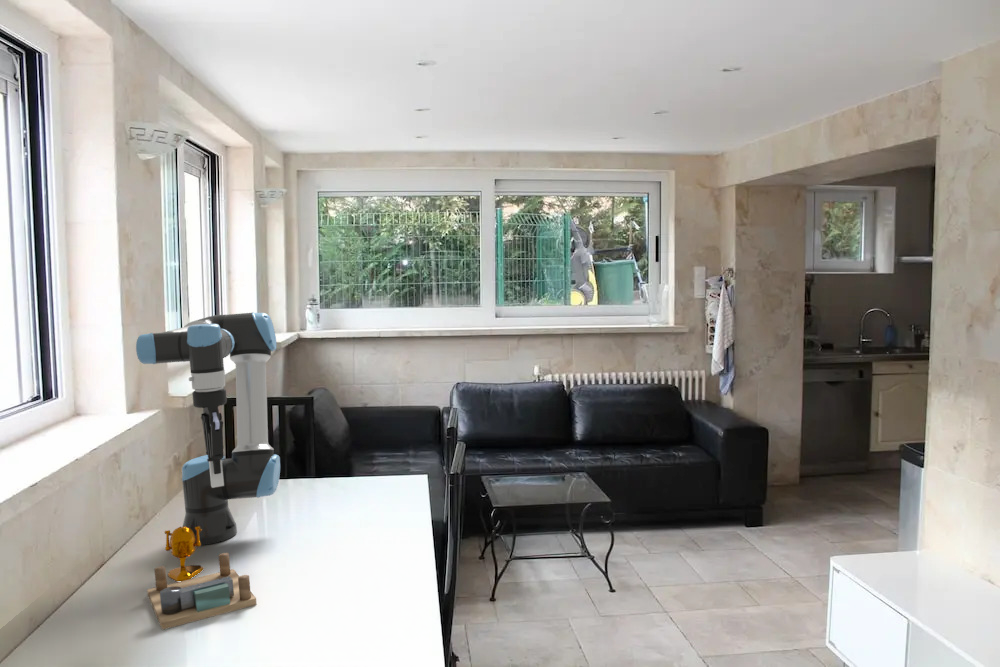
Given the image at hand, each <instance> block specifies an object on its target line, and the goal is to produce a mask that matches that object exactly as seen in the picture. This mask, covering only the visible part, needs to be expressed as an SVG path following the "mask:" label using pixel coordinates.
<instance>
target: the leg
mask: <svg viewBox="0 0 1000 667" xmlns="http://www.w3.org/2000/svg"><path fill="white" fill-rule="evenodd" d="M223 584H228V586H229V594H230V597H232V596H234V590H233V580H232V578H231V577H230V576H228V577H224V578H220V579H216V580H212V581H208V582H204V583H200V584H196V585H192V586H188V587H184V588H181V587H178V586H174V587H168V588H165V589H163V590H161V591H160V601H161V611H162V613H163V614H173V613H176V612H179V611H181V610H183V609H186V608H190V607H194V606H195V595H194V591H198V590H202V589H206V588H210V587H214V586H218V585H223Z"/></svg>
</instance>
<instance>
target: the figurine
mask: <svg viewBox="0 0 1000 667" xmlns="http://www.w3.org/2000/svg"><path fill="white" fill-rule="evenodd" d="M182 526H183V525H182ZM182 526H179V527H177V528H175V529H174V530H173V531H172V532H171V530H164V534H165V535H166V536H165V540H166V541H165V548H164V549H165V551H166V552H169V551H170V555H172V557H174V558H176V559H179V563H180V564H179V566H178V567H175V568H172V569H170V570H169V571H168V573H167V576H168V578H169V579H171V580H172V579H173V581H174V580H175V581H174V582H176V581H185V580H189V579H191V578H192V577H194V576H195V575H197V574H198V573H200V572H201V571H202V570H203V569H205V568H204V567H203V566H202V565H200V564H193V565H192V564H191V565H189V564H188V565H186V560H187V559H188V558H189V557H191V556H192V555H193V554H195V552H196V550H197V548H200V547H201V546H202V545H201V542H200V537H199V531H200V532H201V531H202V530H201V529H200V526H199V527H195V530H197V540H196V539H195V535H194V533H193V531H192V530H191V529H190V528H188V527H184V526H183V527H182ZM195 541H196V543H195ZM203 571H204V570H203ZM203 571H202V572H203ZM202 572H201V573H202ZM201 573H200V574H201ZM198 575H199V574H198ZM198 575H197V576H198ZM195 577H196V576H195ZM195 577H194V578H195ZM192 579H193V578H192Z"/></svg>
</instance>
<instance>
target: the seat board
mask: <svg viewBox="0 0 1000 667" xmlns="http://www.w3.org/2000/svg"><path fill="white" fill-rule="evenodd" d="M230 561H231V560H230V553H229V552H223V553H219V554H218V562H219V563H218V564H219V572H216V573H215V572H214V573H210V574H206V575H202V576H197V577H194V578H192V579H189V580H185V581H181V582H173V583H169V584H168V582H167V571H166V570H167V569H166V566H157V567H155V568H154V569H153V570H154V577H155V579H154V581H155V587H153V588H148V589H147V590H146V592H147V597H149V598H148V599H149V602H150V605H151V604H152V605H151V607H152V610H153V612H154V611H155V612H154V614H155V616H157V617H156V619H157V621H158V623H160V624H159V626H160V629H161V628H162V629H163V630H166V628H167V629H170V628H174V627H178V626H181V625H185V624H189V623H193V622H197V621H200V620H203V619H204V620H205V619H208V618H212V617H214V616H215V617H216V616H218V615H223V614H227V613H230V612H234V611H238V610H241V609H245V608H249V607H253V606H256V605H257V597H256V595H254V594H253V593H252V591H251V582H250V575H248V574H243V575H239V573H238V572H237V571H236V570H235V569H234V568H232V569H231V564H230ZM228 576H230V577H231V578H232V580H233V590H234V596H232V597H230V594H229V586H228V584H223V585H218V586H214V587H210V588H206V589H202V590H198V591H194V595H195V606H194V607H190V608H186V609H183V610H181V611H179V612H176V613H173V614H163V613H162V611H161V601H160V591H161V590H163V589H165V588H168V587H174V586H178V587H181V588H184V587H188V586H192V585H196V584H200V583H204V582H208V581H212V580H216V579H220V578H224V577H228ZM211 616H212V617H211ZM162 629H161V630H162Z"/></svg>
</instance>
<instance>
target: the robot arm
mask: <svg viewBox="0 0 1000 667" xmlns="http://www.w3.org/2000/svg"><path fill="white" fill-rule="evenodd" d="M276 336H277V335H276V331H275V327H274V323H273V321H272V318H271V317H270V315H269V314H267V313H265V312H254V311H252V312H246V313H245V312H244V313H243V312H242V313H231V314H215V315H211V316H206V317H203V318H200V319H196V320H193V321H190V322H188V323H186V324H185V325H184V326H183V327H178V328H175V329H171V330H167V331H162V332H155V333H153V332H150V333H144V334H143V333H142V334H140V335H139V336H138V337H137V338H136V343H135V351H136V356H137V359H138V361H139V362H140V363H142V364H144V365H158V364H169V363H170V364H171V363H180V362H181V363H182V362H183V363H184V362H189V368H190V377H188V381H189V382H191V389H193V390H194V391H193V392H192V402H193V407H195V408H199V409H202V411H203V413H200V416H201V417H200V419H201V423H202V429H203V436H204V444H205V451H206V452H205V454H206V455H205V454H204V455H202V456H198V457H195V458H192V459H189V460H188V461H186V462H184V464H183V465H182V468H181V474H182V475H181V482H182V491H183V500H184V509H185V510H184V511H185V514H184V519H183V522H182V526H181V527H183V526H184V527H188V528H190V529H191V530H192V531H193V533H194V535H195V539H196V540H197V530H195V527H199V526H200V529H201V530H202V531H201V532H200V531H199V537H200V542H201V546H202V545H203V546H204V545H205V544H206V545H211V544H212V545H213V544H216V543H220V541H221V542H223V541H226V540H229V539H230V538H233V537H234V536H236V534H237V533H238V528H237V522H236V520H235V518H234V517H233V514H232V512H231V510H230V508H229V500H240V499H252V498H257V499H259V498H261V497H269V496H272V495H274V494H275V493H276V492H277V489H278V486H279V482H280V477H281V476H280V475H281V474H280V473H281V457H280V456H279V455H278V454H276V453H275V451H274V450H275V449H274V447H272V446H271V445H270V444H269V429H268V425H269V424H268V396H267V395H268V394H267V392H268V390H267V362H268V361H269V360H270V359H271V357H272V353H271V352H274V351H276V350H277V338H276ZM227 357H229V359H230V360H231V361H232V362H233V363H234V364H235V391H236V392H235V393H236V394H235V397H236V400H235V401H236V403H235V404H236V438H237V439H236V441H237V445H236V446H235V448H234V449H233V450H232V452H231V458H230V457H229V458H226V456H225V455H224V435H223V430H224V429H223V427H224V421H223V418H222V417H223V416H222V413H221V412H219V410H220V409H219V407H220V406H224V405H226V404H227V402H228V398H227V390H226V389H225V388H224V387H226V372H225V365H224V359H225V358H227ZM195 543H196V541H195ZM206 545H205V546H206Z"/></svg>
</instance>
